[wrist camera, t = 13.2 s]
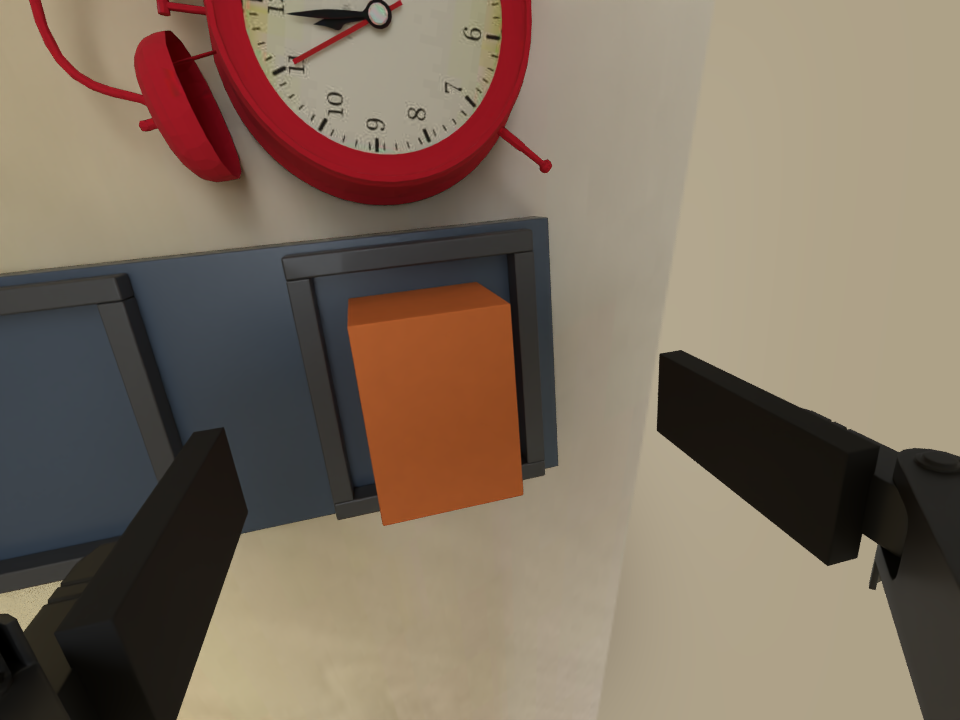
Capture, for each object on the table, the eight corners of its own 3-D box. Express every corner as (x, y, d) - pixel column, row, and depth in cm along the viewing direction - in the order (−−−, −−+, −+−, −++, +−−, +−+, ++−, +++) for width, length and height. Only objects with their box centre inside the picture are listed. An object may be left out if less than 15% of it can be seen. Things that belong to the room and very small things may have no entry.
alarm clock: (565, 216, 17) (1, 185, 11) (484, 210, 23) (71, 187, 16) (603, -158, 14) (-150, -520, 8) (499, -64, 20) (-1, -231, 13)
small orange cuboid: (477, 281, 20) (510, 303, 16) (491, 439, 22) (524, 495, 18) (347, 298, 19) (347, 326, 15) (376, 461, 21) (383, 526, 17)
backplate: (535, 216, 21) (557, 218, 19) (547, 451, 25) (567, 477, 22) (-201, 294, 16) (-294, 310, 14) (-50, 574, 20) (-104, 624, 17)
